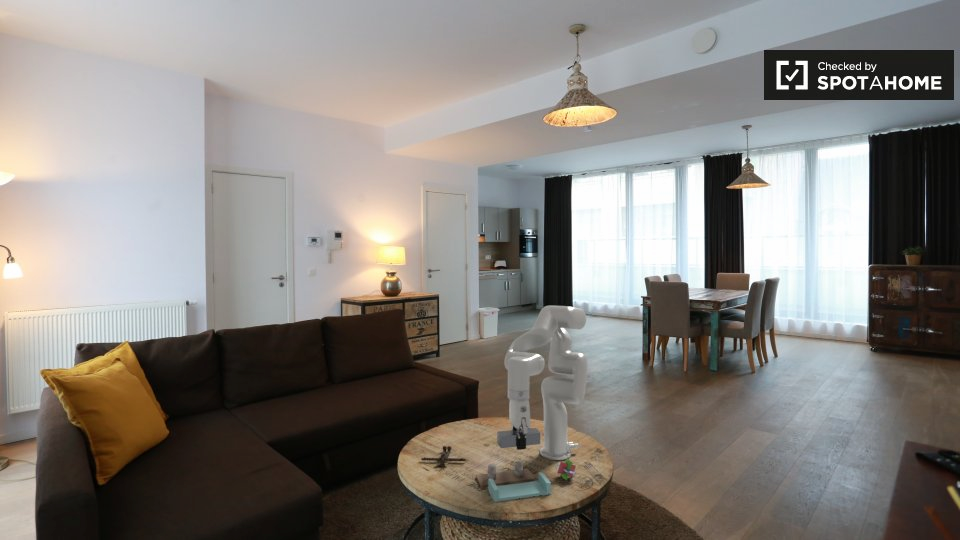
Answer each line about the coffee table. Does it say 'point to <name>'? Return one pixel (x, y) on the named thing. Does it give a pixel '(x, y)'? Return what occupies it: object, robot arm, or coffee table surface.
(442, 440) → the coffee table surface
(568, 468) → the geometric puzzle
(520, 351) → the robot arm
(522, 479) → the peg stand
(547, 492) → the slot holder
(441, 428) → the coffee table surface
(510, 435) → the steel bar
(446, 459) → the bear figurine
